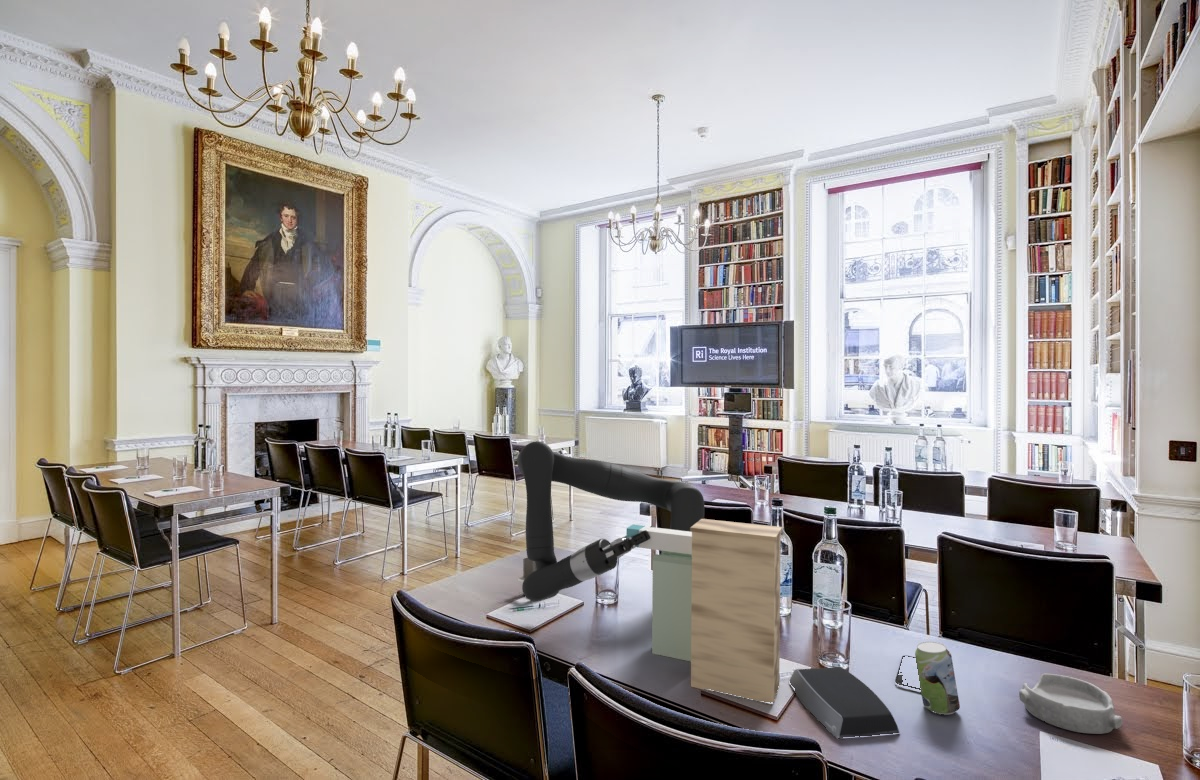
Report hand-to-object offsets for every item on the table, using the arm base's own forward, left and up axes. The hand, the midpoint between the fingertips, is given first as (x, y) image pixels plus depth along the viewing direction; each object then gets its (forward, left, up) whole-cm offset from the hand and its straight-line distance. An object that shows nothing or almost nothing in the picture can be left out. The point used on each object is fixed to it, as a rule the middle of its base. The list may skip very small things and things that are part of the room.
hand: (651, 532), depth 137 cm
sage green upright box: (0, +8, -26) cm, 27 cm away
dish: (-6, +80, -27) cm, 84 cm away
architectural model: (-18, -40, -27) cm, 52 cm away
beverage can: (+2, +58, -27) cm, 63 cm away
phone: (-11, +56, -27) cm, 63 cm away
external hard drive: (+9, +41, -27) cm, 50 cm away
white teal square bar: (0, +7, -3) cm, 7 cm away
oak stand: (+10, +22, -26) cm, 36 cm away
